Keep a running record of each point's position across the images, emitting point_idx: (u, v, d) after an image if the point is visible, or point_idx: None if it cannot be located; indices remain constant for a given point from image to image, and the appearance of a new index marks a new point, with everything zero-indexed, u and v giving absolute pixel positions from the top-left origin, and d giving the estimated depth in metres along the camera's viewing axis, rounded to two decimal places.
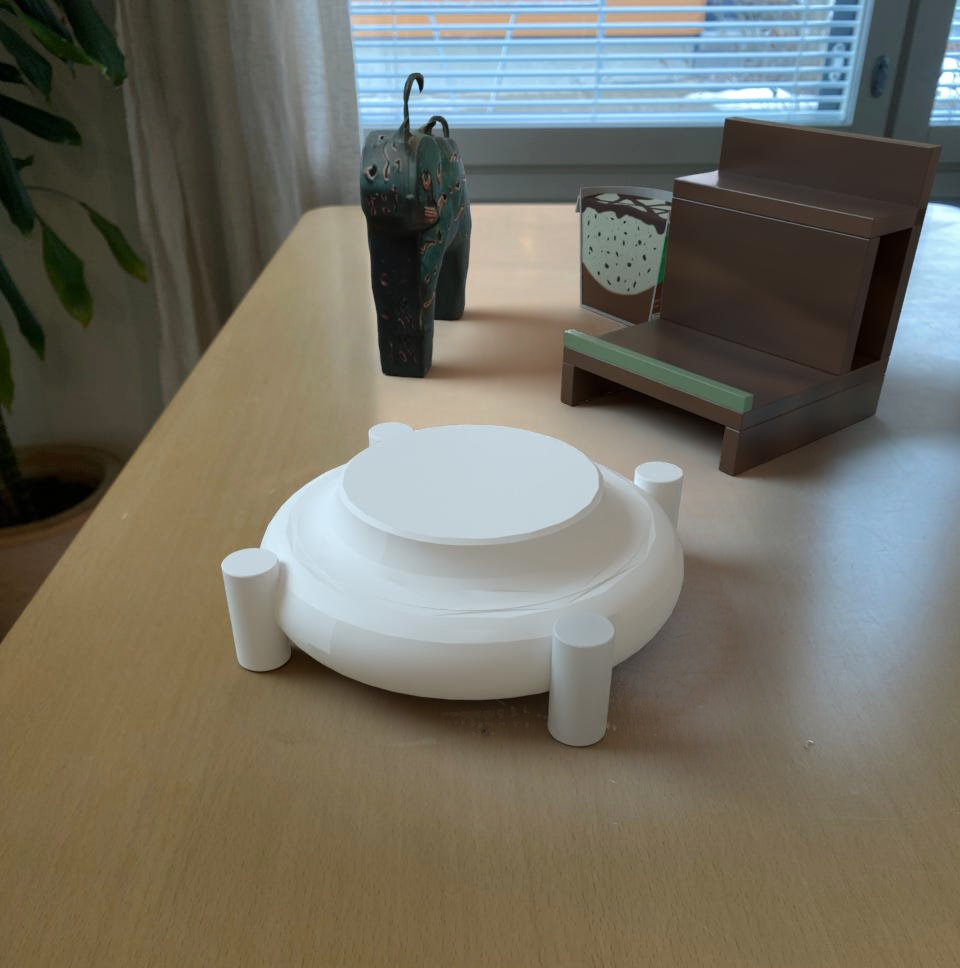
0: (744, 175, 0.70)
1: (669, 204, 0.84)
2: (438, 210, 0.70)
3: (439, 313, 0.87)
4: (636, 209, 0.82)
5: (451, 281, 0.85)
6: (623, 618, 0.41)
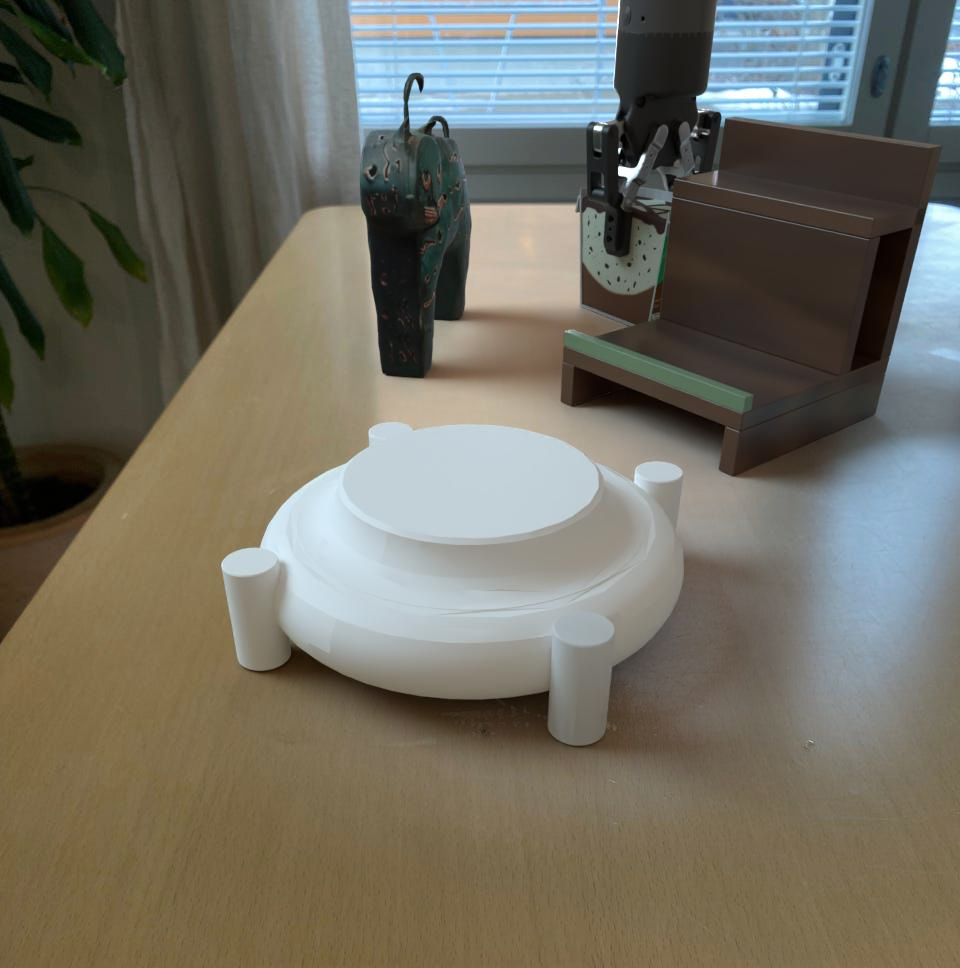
0: (744, 175, 0.70)
1: (669, 204, 0.84)
2: (438, 210, 0.70)
3: (439, 313, 0.87)
4: (636, 209, 0.82)
5: (451, 281, 0.85)
6: (623, 618, 0.41)
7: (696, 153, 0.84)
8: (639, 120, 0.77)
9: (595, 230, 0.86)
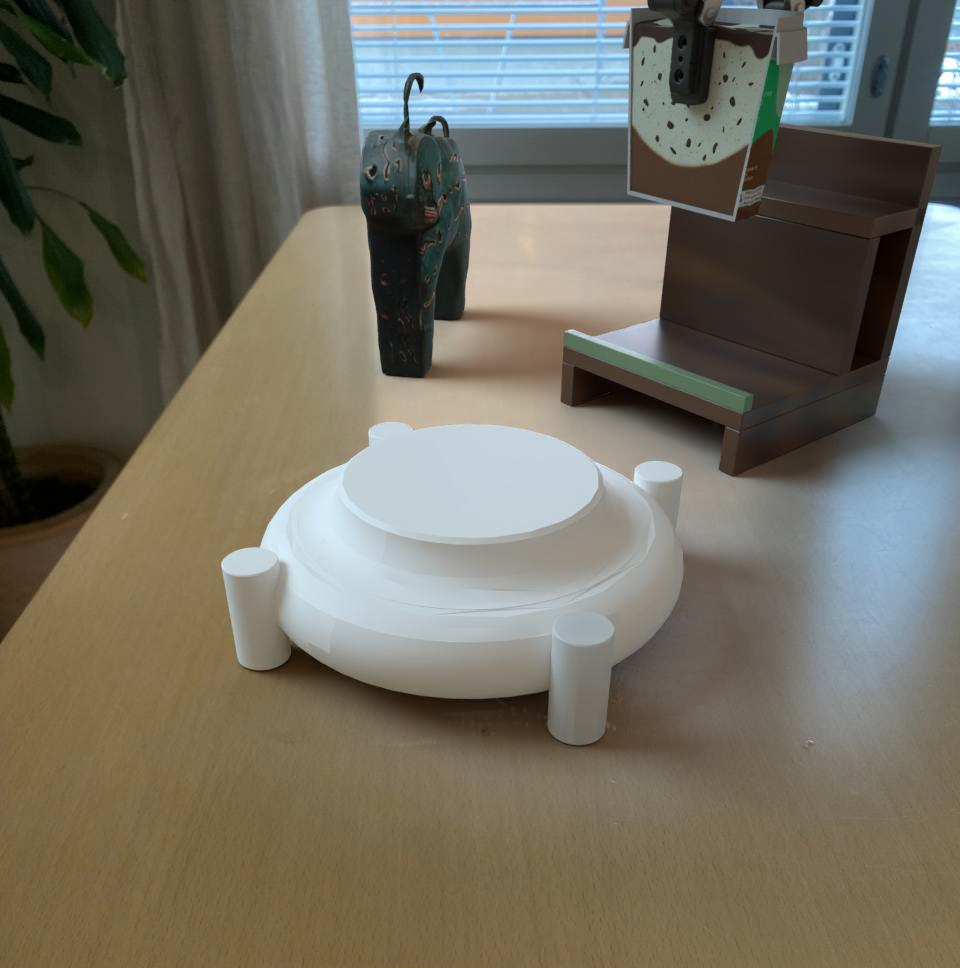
0: None
1: (766, 27, 0.56)
2: (438, 210, 0.70)
3: (439, 313, 0.87)
4: (720, 26, 0.53)
5: (451, 281, 0.85)
6: (623, 617, 0.41)
7: None
8: None
9: (653, 71, 0.58)
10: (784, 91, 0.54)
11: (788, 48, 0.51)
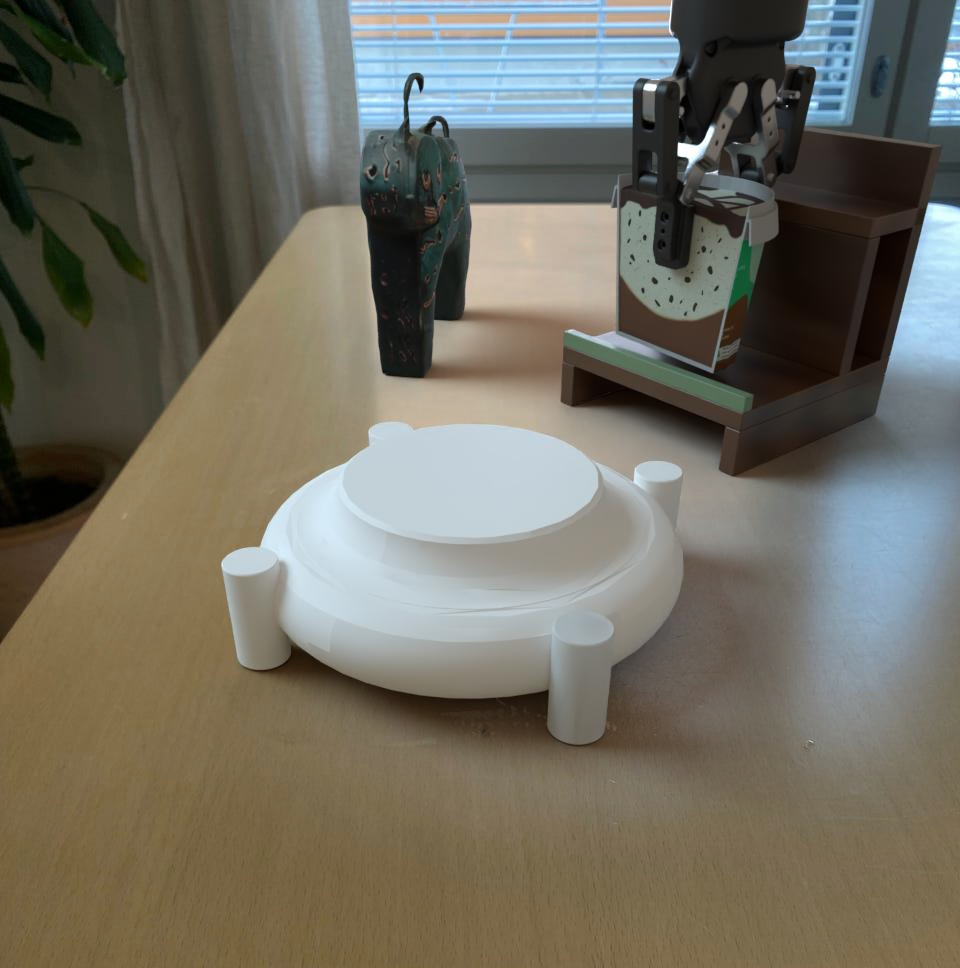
0: None
1: (742, 196, 0.61)
2: (438, 210, 0.70)
3: (439, 313, 0.87)
4: (699, 203, 0.59)
5: (451, 281, 0.85)
6: (622, 617, 0.41)
7: (779, 125, 0.61)
8: (708, 75, 0.54)
9: (639, 232, 0.63)
10: (757, 261, 0.59)
11: (759, 231, 0.56)
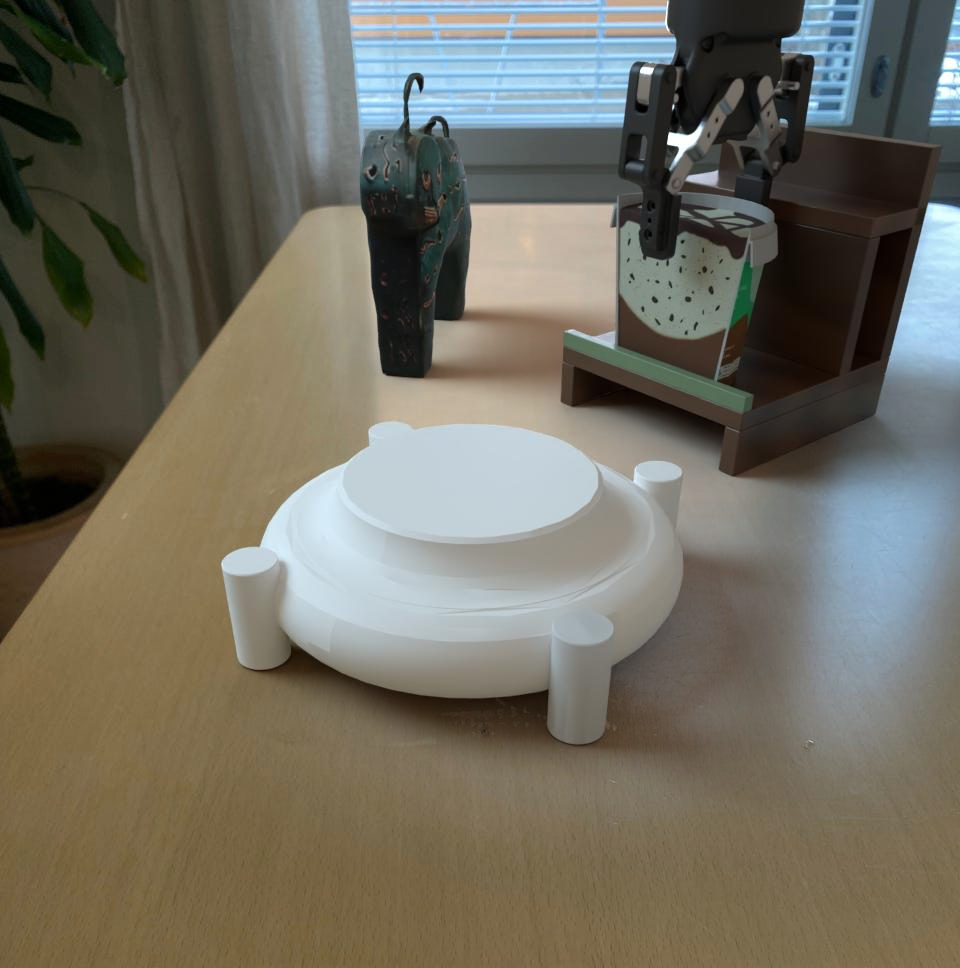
0: None
1: (740, 216, 0.62)
2: (438, 210, 0.70)
3: (439, 313, 0.87)
4: (699, 224, 0.59)
5: (451, 281, 0.85)
6: (622, 616, 0.41)
7: (781, 116, 0.61)
8: (705, 70, 0.54)
9: (639, 252, 0.63)
10: (757, 281, 0.59)
11: (760, 252, 0.57)
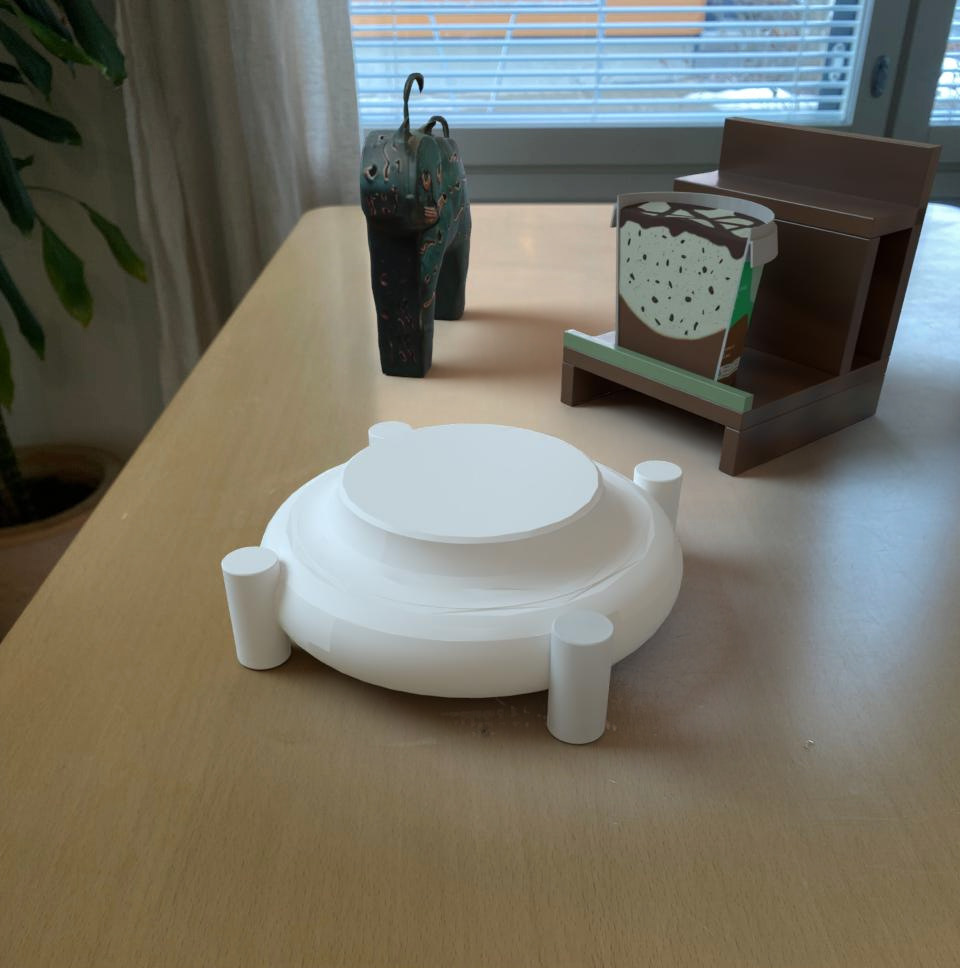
0: (744, 175, 0.70)
1: (740, 216, 0.62)
2: (438, 210, 0.70)
3: (439, 313, 0.87)
4: (699, 224, 0.59)
5: (451, 281, 0.85)
6: (622, 616, 0.41)
7: None
8: None
9: (639, 252, 0.63)
10: (757, 281, 0.59)
11: (760, 252, 0.57)
